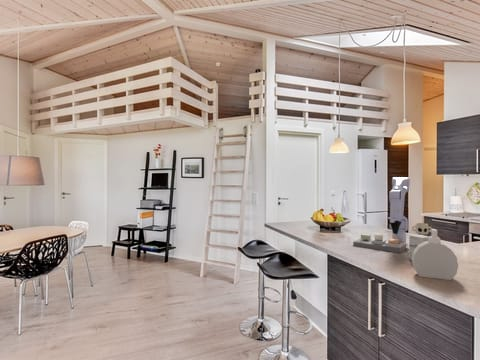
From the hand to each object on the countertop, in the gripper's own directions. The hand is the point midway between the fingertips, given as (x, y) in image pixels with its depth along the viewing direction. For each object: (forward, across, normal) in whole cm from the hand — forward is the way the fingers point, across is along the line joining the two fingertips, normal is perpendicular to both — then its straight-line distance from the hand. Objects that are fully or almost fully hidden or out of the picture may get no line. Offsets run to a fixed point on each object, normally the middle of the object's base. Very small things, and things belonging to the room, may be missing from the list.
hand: (395, 233), depth 175 cm
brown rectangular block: (+7, 0, 0) cm, 7 cm away
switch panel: (+9, 0, -9) cm, 13 cm away
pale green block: (+7, -3, -18) cm, 19 cm away
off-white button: (+5, +1, -9) cm, 10 cm away
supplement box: (+10, +17, +16) cm, 25 cm away
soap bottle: (+10, +42, +26) cm, 50 cm away
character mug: (+10, -29, +8) cm, 32 cm away
